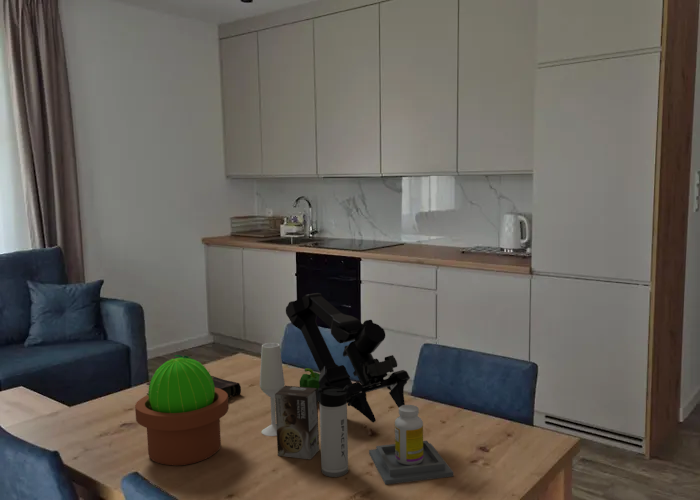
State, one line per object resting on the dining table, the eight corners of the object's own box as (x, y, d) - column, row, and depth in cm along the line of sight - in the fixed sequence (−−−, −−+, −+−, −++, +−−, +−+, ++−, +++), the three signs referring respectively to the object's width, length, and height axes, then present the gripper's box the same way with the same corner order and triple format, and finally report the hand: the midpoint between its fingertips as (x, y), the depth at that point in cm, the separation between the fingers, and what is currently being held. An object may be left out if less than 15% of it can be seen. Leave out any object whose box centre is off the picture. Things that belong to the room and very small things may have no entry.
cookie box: (320, 449, 157) (318, 387, 155) (310, 460, 151) (308, 396, 149) (287, 445, 160) (285, 384, 158) (276, 455, 154) (274, 392, 152)
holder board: (385, 484, 138) (385, 473, 138) (369, 453, 154) (368, 444, 154) (453, 476, 141) (453, 465, 141) (430, 447, 157) (430, 437, 157)
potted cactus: (186, 478, 143) (180, 373, 140) (120, 459, 154) (113, 361, 151) (246, 442, 162) (242, 349, 159) (184, 427, 173) (179, 340, 170)
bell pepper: (332, 398, 194) (331, 366, 192) (317, 406, 187) (316, 374, 186) (310, 393, 198) (310, 363, 197) (295, 401, 191) (294, 370, 190)
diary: (191, 382, 214) (190, 368, 213) (241, 396, 199) (240, 381, 198) (144, 397, 199) (143, 382, 199) (194, 414, 184) (193, 397, 184)
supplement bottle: (428, 458, 149) (428, 406, 147) (414, 469, 143) (414, 415, 142) (404, 451, 152) (403, 401, 151) (390, 461, 147) (389, 409, 146)
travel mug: (319, 465, 148) (317, 384, 146) (347, 464, 149) (345, 383, 146) (320, 478, 142) (318, 393, 140) (349, 476, 142) (347, 392, 140)
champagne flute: (290, 428, 171) (287, 343, 168) (278, 437, 165) (274, 349, 162) (270, 424, 174) (266, 340, 171) (256, 433, 168) (253, 347, 165)
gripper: (344, 353, 150) (371, 412, 143) (405, 339, 160) (433, 393, 153) (328, 375, 158) (353, 432, 150) (387, 360, 168) (413, 413, 161)
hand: (389, 417), depth 153 cm, fingers open, 9 cm apart
